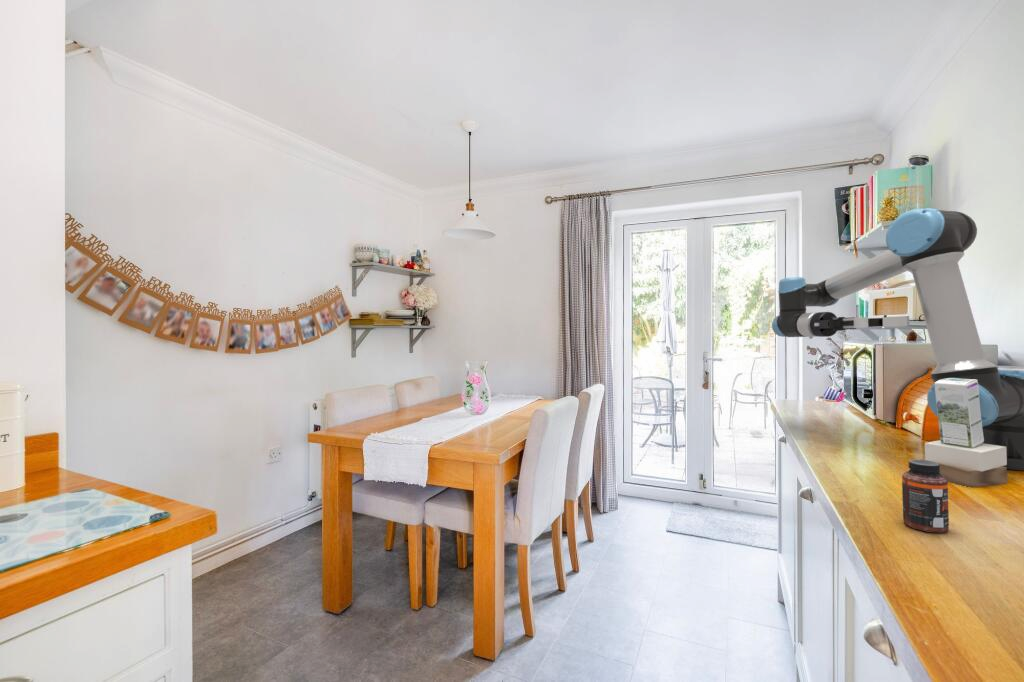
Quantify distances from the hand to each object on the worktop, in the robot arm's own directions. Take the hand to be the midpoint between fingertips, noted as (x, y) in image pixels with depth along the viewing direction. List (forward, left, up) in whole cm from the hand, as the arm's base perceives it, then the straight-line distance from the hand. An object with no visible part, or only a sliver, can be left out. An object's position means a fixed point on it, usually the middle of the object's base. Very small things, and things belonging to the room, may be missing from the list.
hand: (888, 321), depth 122 cm
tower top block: (-1, +18, -33) cm, 37 cm away
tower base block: (0, +18, -37) cm, 41 cm away
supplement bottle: (+31, +41, -36) cm, 62 cm away
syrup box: (-1, +18, -28) cm, 33 cm away
